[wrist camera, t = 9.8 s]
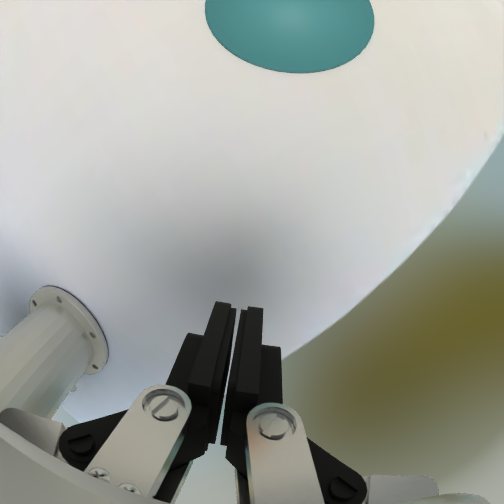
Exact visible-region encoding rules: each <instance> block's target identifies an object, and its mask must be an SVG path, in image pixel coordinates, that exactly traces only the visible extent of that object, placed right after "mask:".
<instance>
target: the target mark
mask: <svg viewBox="0 0 504 504" xmlns="http://www.w3.org/2000/svg"><path fill="white" fill-rule="evenodd" d="M205 14H206V20H207V22H208V25H209V28H210V29H211V31H212V33H213V35H214V36H215V37H216V39H217V40H218V41H219V42H220V43H221V44H222V45H223V46H224V47H225V48H226V49H227V50H229V51H230V52H231V53H233V54H234V55H236V56H238V57H239V58H241V59H243V60H245V61H247V62H249V63H252V64H254V65H257V66H260V67H263V68H266V69H271V70H275V71H282V72H289V73H310V72H318V71H325V70H328V69H332V68H335V67H338V66H340V65H343V64H345V63H347V62H348V61H350V60H352V59H353V58H355V57H356V56H357V55H358V54H360V53H361V51H362V50H363V49H364V48H365V47H366V46H367V44H368V42H369V41H370V39H371V36H372V33H373V29H374V14H373V9H372V6H371V4H370V1H369V0H206V2H205Z"/></svg>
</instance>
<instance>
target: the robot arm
mask: <svg viewBox="0 0 504 504" xmlns="http://www.w3.org/2000/svg"><path fill="white" fill-rule="evenodd" d="M235 317H236V308H231V304H230V303H223V302H217V301H216V302H215V305H214V308H213V310H212V313H211V316H210V319H209V322H208V325H207V328H206V330H205V333H204V336H203V335H197V334H192V333H188V334H187V335H186V337H185V340H184V342H183V344H182V347H181V349H180V352H179V354H178V356H177V359H176V361H175V363H174V366H173V368H172V370H171V373H170V375H169V378H168V380H167V382H166V385H156V386H151V387H149V388H147V389H145V390H144V391H143V392H142V393H141V394H140V395H139V396H138V397H137V399H136V400H135V401H134V403H133V404H132V406H131V407H130V408H129V409H128V410H125V411H122V412H119V413H115V414H112V415H109V416H106V417H102V418H99V419H95V420H92V421H88V422H84V423H80V424H76V425H74V426H71V427H65V426H64V425H63V423H60V422H57V421H53V420H51V418H52V417H53V415H54V414H55V412H56V411H57V409H58V408H59V406H60V405H61V403H62V402H63V401H64V399H65V398H66V396H67V395H68V393H69V392H70V391H75V390H76V385H75V384H76V382H77V381H78V379H79V378H80V377H81V375H82V374H95V373H97V372H99V371H100V370H101V369H102V368H103V366H104V365H105V363H106V362H107V357H108V349H107V344H106V341H105V338H104V336H103V333H102V331H101V329H100V327H99V326H98V324H97V322H96V321H95V319H94V318H93V317H92V315H91V314H90V313H89V312H88V310H87V309H86V308H85V307H84V306H83V305H82V304H81V303H80V302H79V301H78V300H77V299H75V298H74V297H73V296H72V295H70V294H69V293H67V292H65V291H63V290H62V289H59V288H56V287H51V286H46V287H42V288H41V289H39V290H38V291H36V292H35V293H34V294H33V296H32V297H31V300H30V314H28V315H27V316H26V317H25V318H24V319H23V320H21V321H20V322H19V323H18V324H17V325H16V326H14V327H13V328H12V329H11V330H10V331H9V332H8V333H7V334H6V335H4V336H3V337H2V338H1V339H0V504H174V503H175V501H176V499H177V497H178V495H179V492H180V490H181V488H182V486H183V484H184V482H185V479H186V477H187V475H188V473H189V470H190V468H191V466H192V464H193V460H194V459H196V458H198V457H200V456H202V455H204V453H205V451H207V449H208V444H209V443H212V444H215V441H216V436H217V431H218V424H219V420H220V414H221V409H222V404H223V398H224V393H225V387H226V382H227V377H228V371H229V365H230V357H231V349H232V341H233V333H234V325H235ZM262 325H263V308H257V307H250V306H248V309H247V310H242V309H241V314H240V320H239V325H238V331H237V336H236V342H235V348H234V353H233V359H232V364H231V370H230V376H229V381H228V387H227V394H226V402H225V410H224V419H223V427H222V435H221V443H220V444H221V445H225V446H227V450H226V457H225V458H226V459H227V460H228V461H229V462H230V463H231V464H232V465H233V466H234V467H235V482H236V494H237V504H490V503H489V502H488V501H487V500H486V499H485V498H483V497H481V496H478V495H473V494H466V493H452V494H442V495H439V490H438V486H437V483H436V482H435V481H434V480H433V479H432V478H430V477H428V476H423V475H419V476H418V475H417V476H389V475H370V476H369V477H362V476H361V475H359V474H358V473H357V472H356V471H354V470H352V469H351V468H349V467H348V466H346V465H345V464H343V463H342V462H340V461H339V460H338V459H336V458H335V457H333V456H332V455H330V454H329V453H327V452H326V451H324V450H323V449H322V448H321V447H319V446H318V445H316V444H315V443H314V442H312V441H311V440H310V439H308V438H307V437H306V434H305V431H304V427H303V423H302V420H301V418H300V416H299V415H298V414H297V413H296V412H295V410H293V409H292V408H290V407H288V406H286V405H283V399H282V368H281V348H280V347H276V346H268V345H262Z"/></svg>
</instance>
